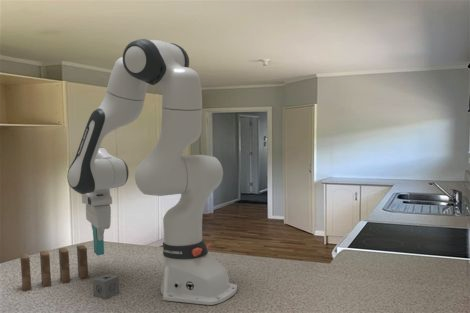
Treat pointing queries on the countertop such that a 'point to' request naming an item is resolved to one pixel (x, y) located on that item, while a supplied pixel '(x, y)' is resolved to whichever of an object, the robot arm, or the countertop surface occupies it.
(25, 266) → the domino
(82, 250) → the domino
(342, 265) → the countertop surface
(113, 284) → the grey cube
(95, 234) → the domino
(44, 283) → the domino
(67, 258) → the domino
